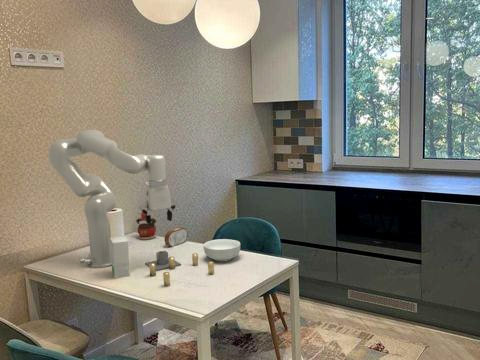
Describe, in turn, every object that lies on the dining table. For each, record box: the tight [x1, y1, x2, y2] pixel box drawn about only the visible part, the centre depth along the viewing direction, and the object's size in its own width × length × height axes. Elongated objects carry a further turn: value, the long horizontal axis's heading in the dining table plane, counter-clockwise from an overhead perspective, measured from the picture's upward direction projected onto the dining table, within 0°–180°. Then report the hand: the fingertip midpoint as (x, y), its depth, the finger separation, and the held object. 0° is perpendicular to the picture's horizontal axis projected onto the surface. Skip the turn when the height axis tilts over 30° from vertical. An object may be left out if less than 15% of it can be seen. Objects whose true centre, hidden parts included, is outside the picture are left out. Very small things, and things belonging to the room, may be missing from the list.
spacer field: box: [148, 252, 215, 287], centre depth 195 cm, size 22×19×5 cm
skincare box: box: [110, 235, 131, 280], centre depth 196 cm, size 8×7×16 cm
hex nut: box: [155, 250, 169, 265], centre depth 207 cm, size 4×5×5 cm
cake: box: [135, 206, 157, 240], centre depth 252 cm, size 11×9×18 cm
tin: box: [164, 226, 189, 247], centre depth 238 cm, size 15×3×8 cm, turn 144°
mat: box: [144, 257, 182, 272], centre depth 208 cm, size 12×12×1 cm
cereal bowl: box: [203, 238, 241, 262], centre depth 212 cm, size 17×17×7 cm
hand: (159, 222), depth 205 cm, fingers open, 9 cm apart
